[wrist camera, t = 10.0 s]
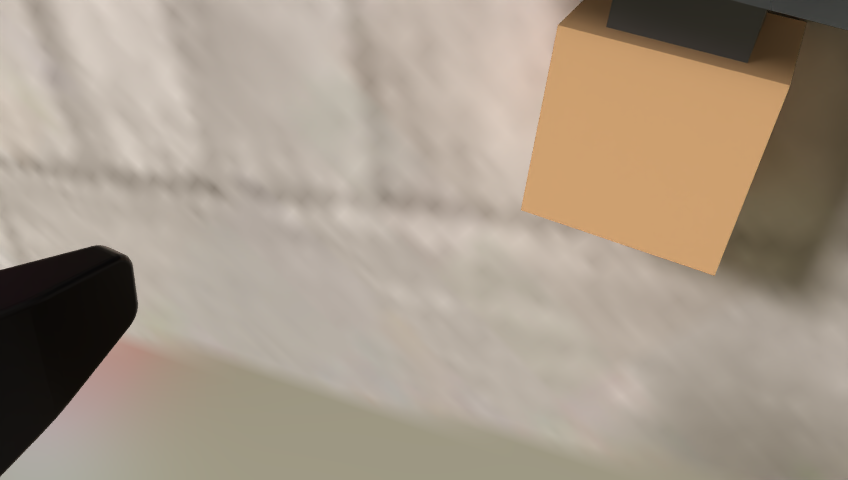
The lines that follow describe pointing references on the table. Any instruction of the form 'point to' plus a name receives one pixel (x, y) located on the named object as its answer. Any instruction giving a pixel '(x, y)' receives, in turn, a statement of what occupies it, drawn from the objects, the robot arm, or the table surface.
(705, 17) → the plug
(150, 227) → the table surface
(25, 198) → the table surface
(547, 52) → the table surface
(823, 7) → the grey arch block
